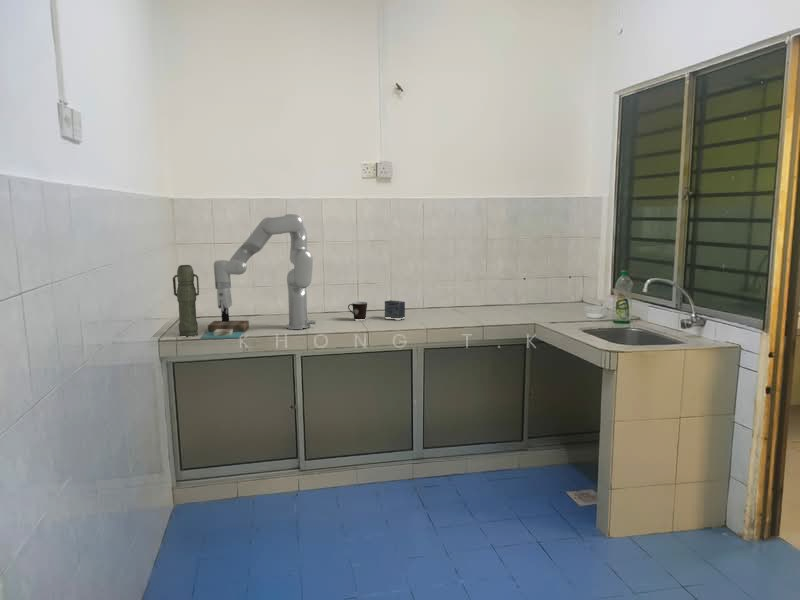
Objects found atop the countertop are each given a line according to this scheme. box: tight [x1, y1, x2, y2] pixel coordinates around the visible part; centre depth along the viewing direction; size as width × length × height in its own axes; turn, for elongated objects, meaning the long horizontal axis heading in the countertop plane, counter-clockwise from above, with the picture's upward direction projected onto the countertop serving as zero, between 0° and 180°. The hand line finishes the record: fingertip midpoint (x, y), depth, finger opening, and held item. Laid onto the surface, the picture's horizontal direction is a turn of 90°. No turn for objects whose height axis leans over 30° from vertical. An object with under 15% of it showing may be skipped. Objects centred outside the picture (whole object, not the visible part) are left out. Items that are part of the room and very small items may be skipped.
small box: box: [384, 300, 406, 318], centre depth 327 cm, size 11×6×10 cm, turn 58°
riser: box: [207, 320, 250, 333], centre depth 294 cm, size 18×12×4 cm, turn 94°
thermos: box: [172, 264, 200, 338], centre depth 280 cm, size 9×12×35 cm
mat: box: [200, 331, 245, 340], centre depth 282 cm, size 18×12×1 cm, turn 94°
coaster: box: [213, 329, 233, 336], centre depth 282 cm, size 8×6×2 cm
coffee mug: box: [347, 301, 368, 320], centre depth 324 cm, size 12×9×10 cm
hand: (225, 321), depth 284 cm, fingers closed
